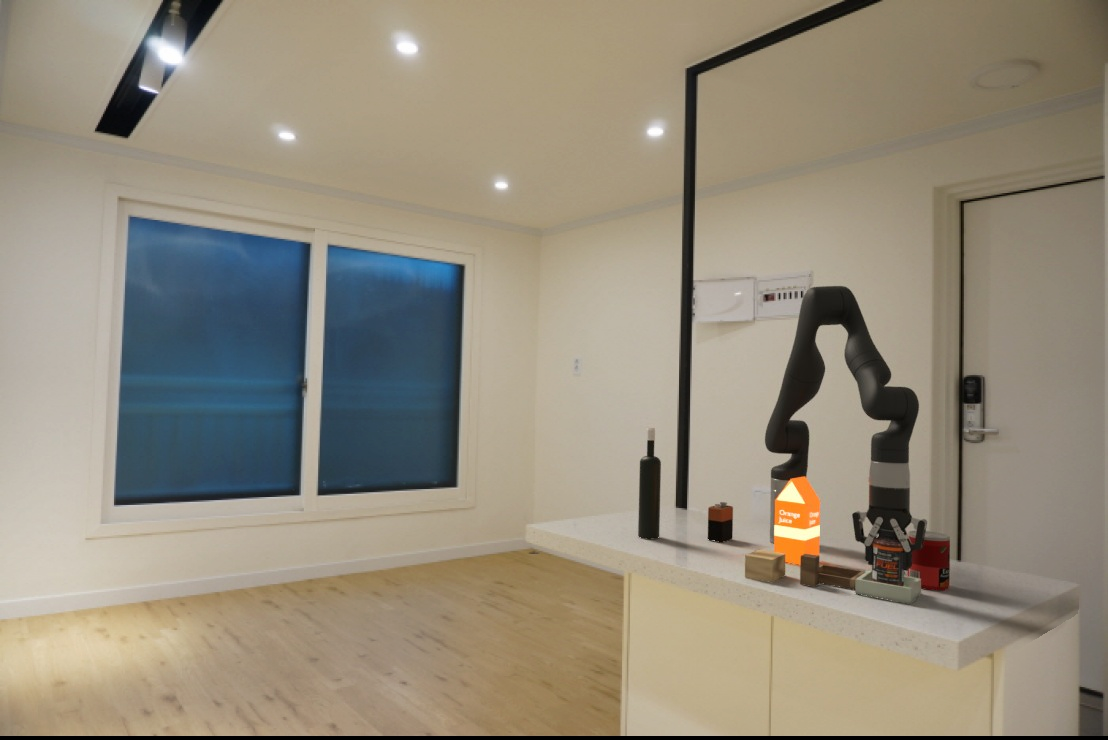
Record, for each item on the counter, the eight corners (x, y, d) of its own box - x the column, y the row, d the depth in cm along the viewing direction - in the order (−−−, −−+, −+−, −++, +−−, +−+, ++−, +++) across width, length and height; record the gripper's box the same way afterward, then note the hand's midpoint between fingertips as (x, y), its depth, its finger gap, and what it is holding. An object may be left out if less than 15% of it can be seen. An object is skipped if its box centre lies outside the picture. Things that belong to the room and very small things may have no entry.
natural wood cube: (758, 571, 159) (759, 549, 159) (785, 576, 155) (785, 553, 155) (744, 578, 152) (745, 555, 152) (771, 583, 149) (772, 559, 149)
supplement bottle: (872, 586, 141) (873, 529, 141) (870, 579, 146) (871, 524, 147) (905, 590, 139) (906, 532, 139) (902, 582, 144) (903, 527, 144)
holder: (821, 572, 158) (821, 564, 158) (865, 580, 152) (865, 571, 152) (807, 581, 151) (807, 571, 151) (853, 589, 145) (853, 579, 145)
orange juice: (773, 560, 169) (774, 477, 170) (789, 554, 175) (790, 474, 176) (804, 566, 164) (806, 480, 164) (820, 560, 170) (821, 478, 171)
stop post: (804, 581, 150) (805, 553, 150) (819, 584, 148) (819, 555, 148) (800, 584, 148) (800, 555, 148) (814, 587, 146) (814, 558, 146)
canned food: (948, 593, 144) (949, 539, 144) (905, 586, 148) (905, 534, 149) (950, 585, 151) (950, 533, 151) (909, 579, 155) (909, 528, 155)
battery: (733, 539, 193) (733, 503, 193) (721, 543, 187) (722, 505, 188) (718, 537, 195) (719, 501, 196) (706, 540, 190) (707, 503, 191)
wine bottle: (644, 534, 197) (646, 427, 198) (662, 537, 193) (665, 428, 194) (634, 537, 192) (636, 427, 193) (653, 540, 189) (655, 428, 190)
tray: (868, 584, 149) (868, 570, 149) (920, 593, 143) (921, 578, 143) (855, 594, 141) (855, 579, 141) (910, 604, 135) (910, 588, 135)
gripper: (932, 486, 142) (931, 569, 141) (857, 479, 150) (856, 557, 150) (924, 489, 136) (923, 577, 135) (847, 482, 144) (846, 564, 144)
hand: (888, 566), depth 143 cm, fingers closed on supplement bottle, 6 cm apart
